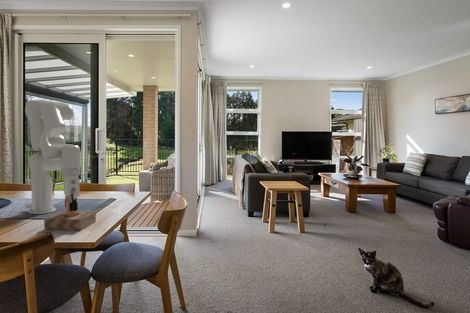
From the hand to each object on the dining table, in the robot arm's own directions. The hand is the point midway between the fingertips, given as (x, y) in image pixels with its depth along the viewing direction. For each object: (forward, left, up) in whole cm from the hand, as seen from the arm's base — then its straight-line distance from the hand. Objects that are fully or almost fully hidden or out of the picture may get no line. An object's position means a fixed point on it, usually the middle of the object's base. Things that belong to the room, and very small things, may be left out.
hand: (71, 208), depth 135 cm
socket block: (0, 0, -8) cm, 8 cm away
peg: (0, 0, -8) cm, 8 cm away
